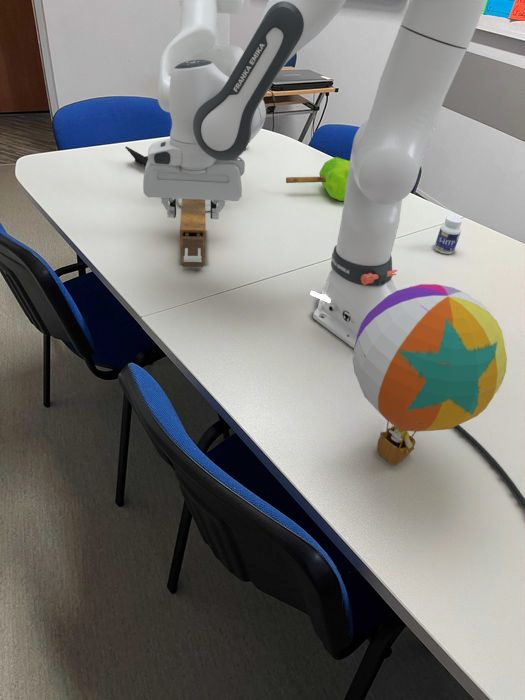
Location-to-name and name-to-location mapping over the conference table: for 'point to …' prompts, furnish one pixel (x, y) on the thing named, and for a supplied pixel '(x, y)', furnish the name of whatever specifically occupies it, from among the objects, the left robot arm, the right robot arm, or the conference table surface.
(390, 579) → the conference table surface
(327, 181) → the decorative tree
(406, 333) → the toy
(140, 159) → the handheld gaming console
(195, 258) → the drawer
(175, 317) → the conference table surface
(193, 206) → the cabinet
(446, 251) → the pill bottle
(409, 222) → the conference table surface
